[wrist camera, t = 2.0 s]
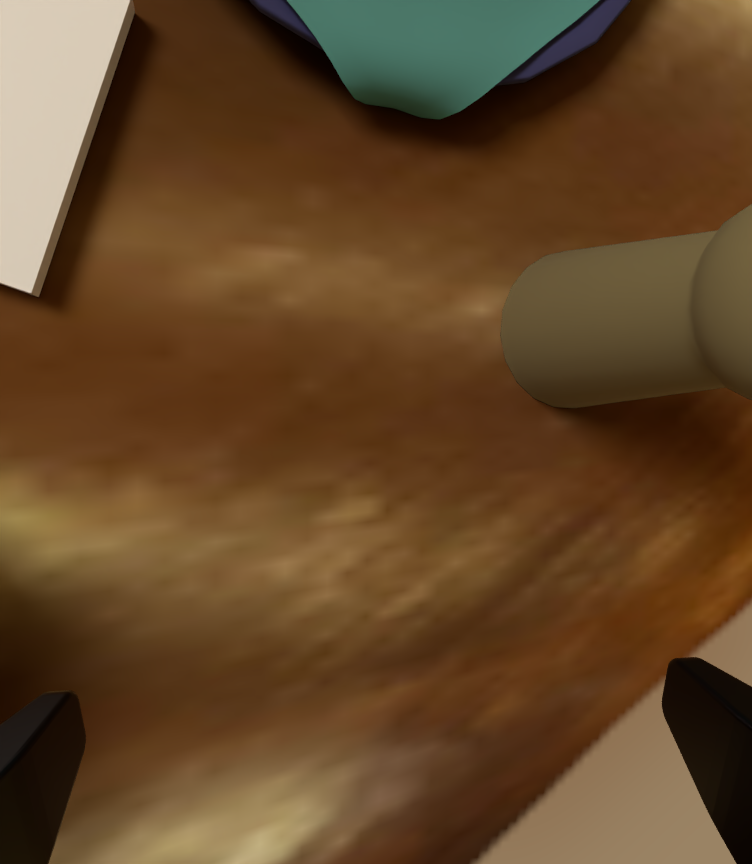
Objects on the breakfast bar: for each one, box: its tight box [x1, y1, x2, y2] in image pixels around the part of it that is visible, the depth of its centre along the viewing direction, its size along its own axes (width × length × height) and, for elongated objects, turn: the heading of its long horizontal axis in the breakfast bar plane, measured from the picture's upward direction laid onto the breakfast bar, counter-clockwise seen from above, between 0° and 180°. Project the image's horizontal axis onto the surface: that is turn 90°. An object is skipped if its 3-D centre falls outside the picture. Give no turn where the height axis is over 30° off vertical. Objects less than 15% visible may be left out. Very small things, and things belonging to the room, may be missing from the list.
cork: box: [500, 204, 752, 408], centre depth 17 cm, size 6×6×11 cm
